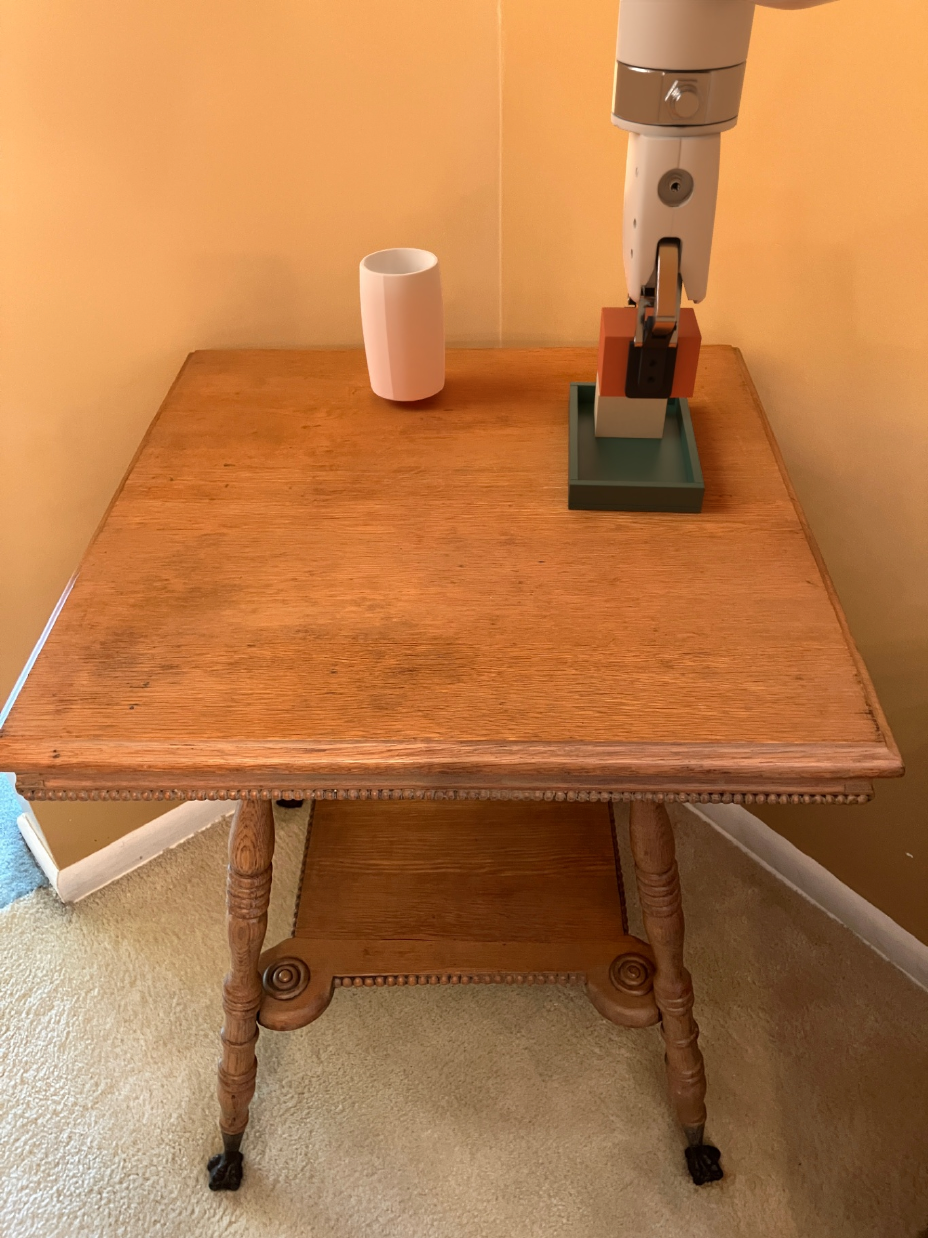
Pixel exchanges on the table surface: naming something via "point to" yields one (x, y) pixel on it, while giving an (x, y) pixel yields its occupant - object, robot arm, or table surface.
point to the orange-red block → (620, 331)
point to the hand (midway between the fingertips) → (644, 375)
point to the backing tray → (632, 462)
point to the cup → (403, 323)
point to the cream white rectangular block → (628, 416)
